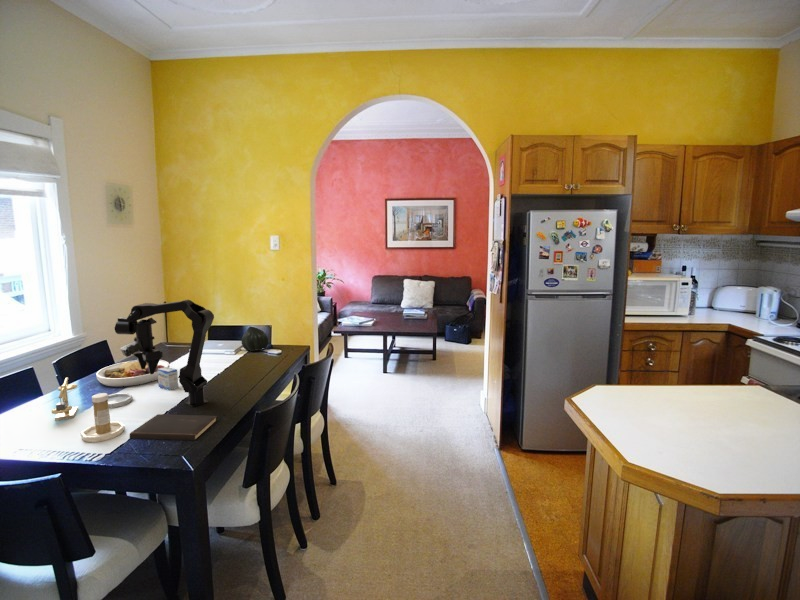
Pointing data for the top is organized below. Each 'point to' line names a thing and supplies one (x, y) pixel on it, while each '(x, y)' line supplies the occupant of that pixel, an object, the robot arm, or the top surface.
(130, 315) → the robot arm
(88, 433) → the cream dish
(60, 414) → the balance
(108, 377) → the bowl
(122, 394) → the slate dish
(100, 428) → the sprinkles bottle
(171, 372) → the medicine box
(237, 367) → the top surface
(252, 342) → the squash
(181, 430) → the hardcover book
